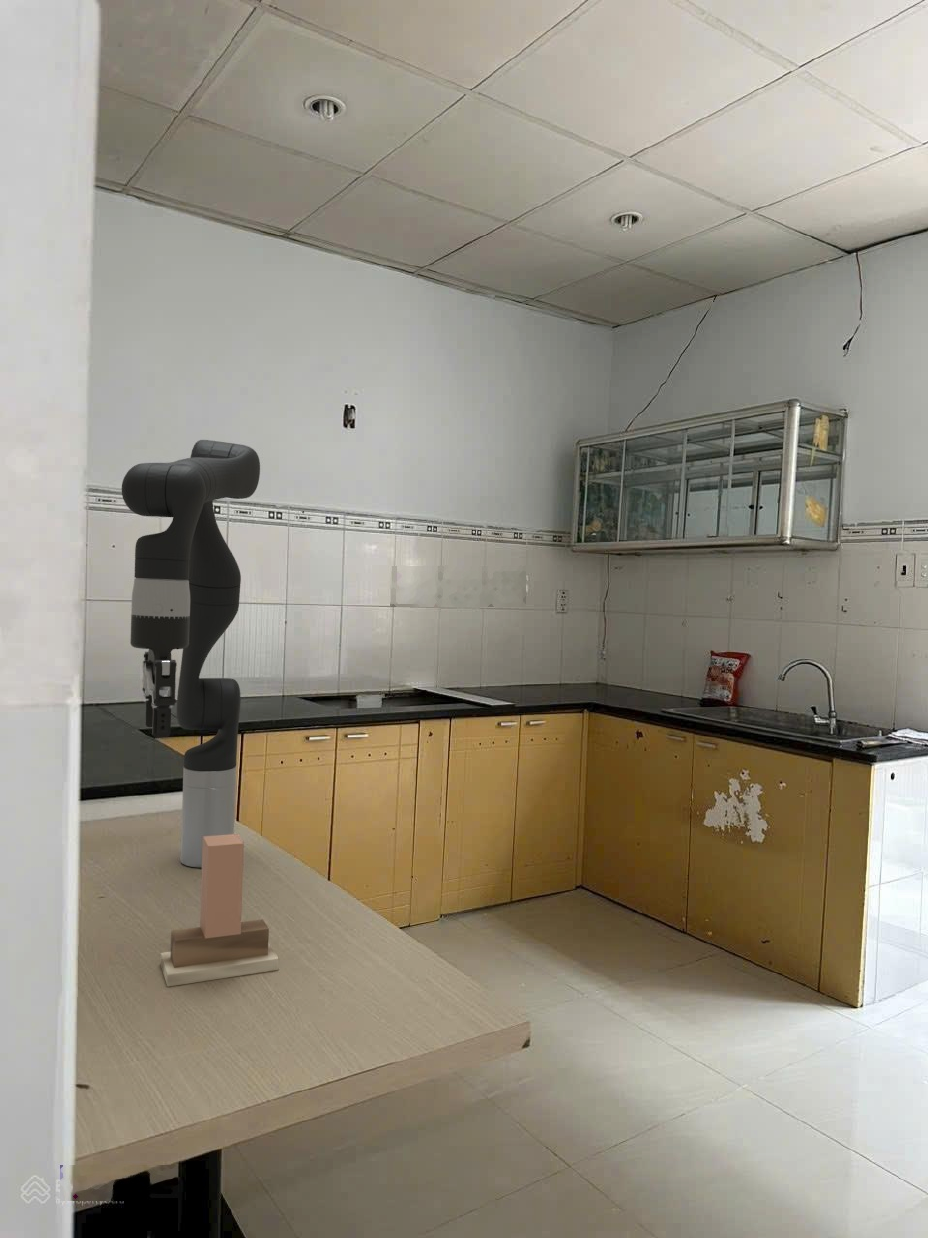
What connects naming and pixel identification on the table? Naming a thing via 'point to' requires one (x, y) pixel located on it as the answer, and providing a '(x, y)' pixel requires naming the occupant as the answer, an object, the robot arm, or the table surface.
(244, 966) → the stand
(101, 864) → the table surface
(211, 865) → the block
